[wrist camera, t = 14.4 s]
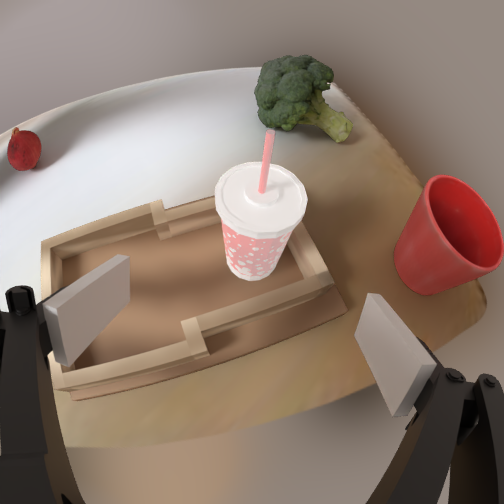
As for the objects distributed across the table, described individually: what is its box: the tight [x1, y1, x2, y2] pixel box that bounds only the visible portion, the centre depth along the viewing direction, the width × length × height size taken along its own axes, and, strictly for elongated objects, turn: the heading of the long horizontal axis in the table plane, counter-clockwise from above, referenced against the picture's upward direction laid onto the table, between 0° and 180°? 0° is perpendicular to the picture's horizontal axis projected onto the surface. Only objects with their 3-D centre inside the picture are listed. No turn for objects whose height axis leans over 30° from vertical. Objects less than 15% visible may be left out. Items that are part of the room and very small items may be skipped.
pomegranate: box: [7, 127, 41, 171], centre depth 29 cm, size 6×6×8 cm
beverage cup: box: [215, 129, 308, 281], centre depth 20 cm, size 6×6×14 cm
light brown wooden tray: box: [41, 196, 348, 401], centre depth 24 cm, size 16×26×4 cm, turn 111°
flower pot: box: [394, 175, 504, 295], centre depth 24 cm, size 11×11×10 cm
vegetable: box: [254, 55, 353, 143], centre depth 34 cm, size 12×13×15 cm
